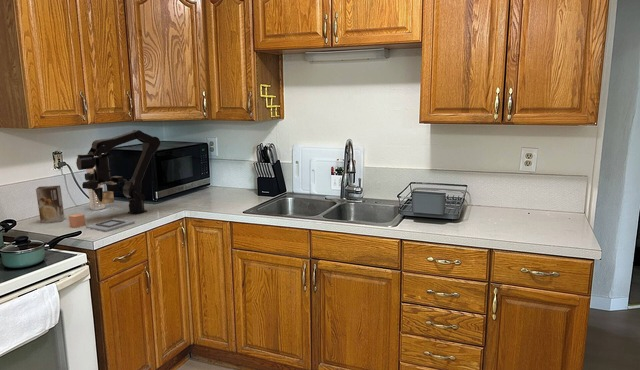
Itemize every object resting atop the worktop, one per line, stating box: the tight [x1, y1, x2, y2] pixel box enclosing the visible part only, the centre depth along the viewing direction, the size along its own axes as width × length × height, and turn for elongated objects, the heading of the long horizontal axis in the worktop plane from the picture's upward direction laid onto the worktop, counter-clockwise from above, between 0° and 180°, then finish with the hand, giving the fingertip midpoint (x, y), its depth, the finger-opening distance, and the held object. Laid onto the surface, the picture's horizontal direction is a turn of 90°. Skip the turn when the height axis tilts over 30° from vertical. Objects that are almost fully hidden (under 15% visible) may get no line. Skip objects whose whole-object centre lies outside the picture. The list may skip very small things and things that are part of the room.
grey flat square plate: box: [85, 218, 136, 233], centre depth 211 cm, size 15×13×1 cm
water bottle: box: [85, 167, 106, 211], centre depth 241 cm, size 7×7×25 cm
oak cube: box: [97, 190, 115, 205], centre depth 222 cm, size 5×5×5 cm
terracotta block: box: [68, 213, 86, 229], centre depth 211 cm, size 4×4×5 cm
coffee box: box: [35, 185, 66, 224], centre depth 219 cm, size 9×6×16 cm
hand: (105, 200), depth 222 cm, fingers closed on oak cube, 5 cm apart
